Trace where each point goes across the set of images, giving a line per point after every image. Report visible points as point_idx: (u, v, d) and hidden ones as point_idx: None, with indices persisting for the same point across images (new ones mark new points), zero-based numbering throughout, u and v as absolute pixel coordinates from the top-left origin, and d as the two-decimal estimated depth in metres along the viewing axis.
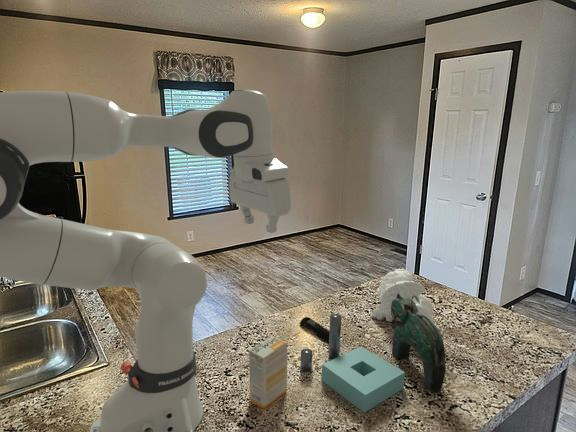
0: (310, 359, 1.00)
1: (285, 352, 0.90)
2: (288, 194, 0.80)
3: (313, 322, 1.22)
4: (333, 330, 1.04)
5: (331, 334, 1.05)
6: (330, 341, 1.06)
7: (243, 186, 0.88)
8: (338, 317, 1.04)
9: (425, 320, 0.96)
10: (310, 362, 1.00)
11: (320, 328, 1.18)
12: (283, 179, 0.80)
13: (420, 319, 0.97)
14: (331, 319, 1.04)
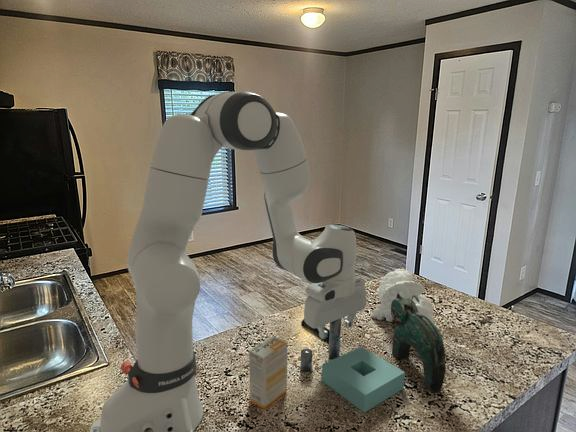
0: (310, 359, 1.00)
1: (285, 352, 0.90)
2: (313, 314, 0.97)
3: None
4: (333, 330, 1.04)
5: (331, 334, 1.05)
6: (330, 341, 1.06)
7: None
8: None
9: (425, 320, 0.96)
10: (310, 362, 1.00)
11: None
12: (318, 301, 0.97)
13: (420, 319, 0.97)
14: None
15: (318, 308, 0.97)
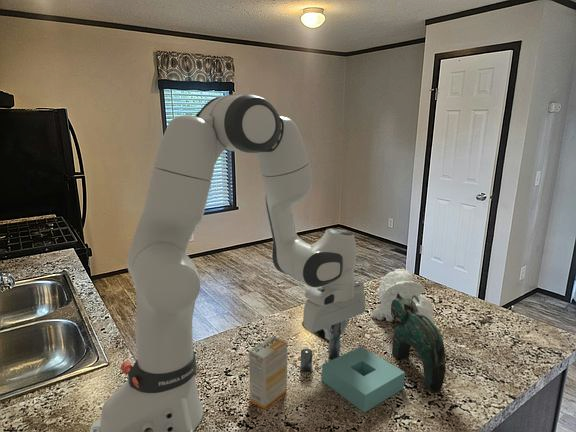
0: (310, 359, 1.00)
1: (285, 352, 0.90)
2: (312, 318, 0.97)
3: None
4: (333, 330, 1.04)
5: None
6: (330, 341, 1.06)
7: None
8: None
9: (425, 320, 0.96)
10: (310, 362, 1.00)
11: None
12: (317, 305, 0.97)
13: (420, 319, 0.97)
14: None
15: (317, 312, 0.97)
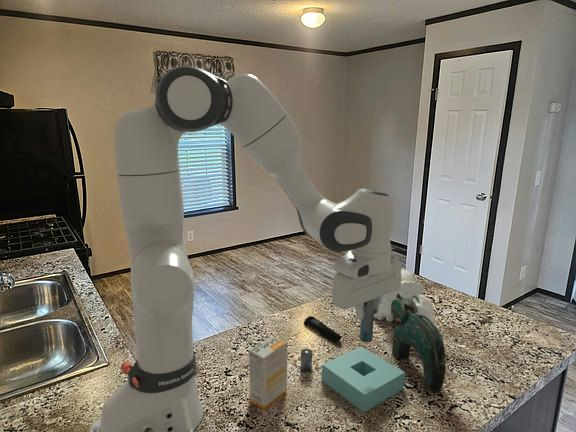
0: (310, 359, 1.00)
1: (285, 352, 0.90)
2: (343, 292, 0.83)
3: (317, 321, 1.22)
4: (366, 308, 0.90)
5: None
6: (362, 321, 0.91)
7: None
8: None
9: (425, 320, 0.96)
10: (310, 362, 1.00)
11: (324, 327, 1.18)
12: (349, 278, 0.83)
13: (420, 319, 0.97)
14: None
15: (350, 286, 0.82)
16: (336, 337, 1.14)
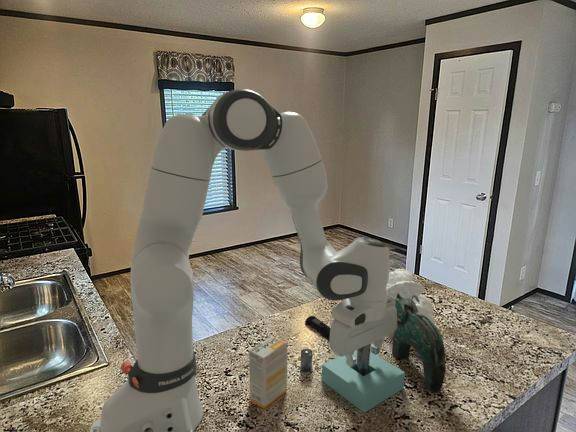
0: (310, 359, 1.00)
1: (285, 352, 0.90)
2: (340, 340, 0.85)
3: (318, 321, 1.22)
4: (362, 357, 0.92)
5: (359, 361, 0.93)
6: (358, 368, 0.94)
7: None
8: None
9: (425, 320, 0.96)
10: (310, 362, 1.00)
11: (324, 327, 1.18)
12: (346, 326, 0.85)
13: (420, 319, 0.97)
14: None
15: (347, 334, 0.85)
16: None
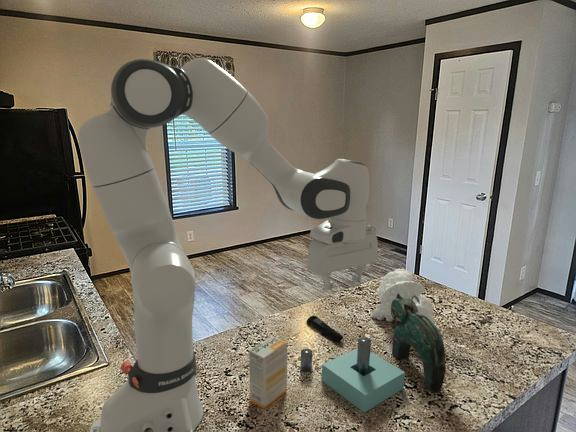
0: (310, 359, 1.00)
1: (285, 352, 0.90)
2: (318, 257, 0.85)
3: (319, 321, 1.23)
4: (362, 357, 0.92)
5: (359, 361, 0.93)
6: (358, 368, 0.94)
7: None
8: (367, 342, 0.92)
9: (425, 320, 0.96)
10: (310, 362, 1.00)
11: (326, 327, 1.18)
12: (324, 244, 0.85)
13: (420, 319, 0.97)
14: (359, 344, 0.92)
15: (324, 251, 0.85)
16: (337, 337, 1.14)
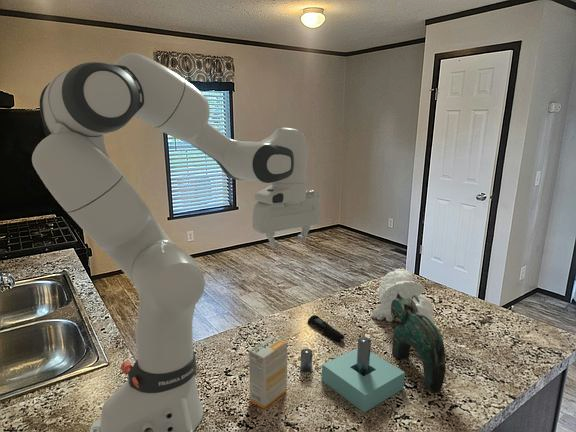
0: (310, 359, 1.00)
1: (285, 352, 0.90)
2: (260, 217, 0.94)
3: (321, 320, 1.23)
4: (362, 357, 0.92)
5: (359, 361, 0.93)
6: (358, 368, 0.94)
7: None
8: (367, 342, 0.92)
9: (425, 320, 0.96)
10: (310, 362, 1.00)
11: (327, 327, 1.19)
12: (265, 204, 0.94)
13: (420, 319, 0.97)
14: (359, 344, 0.92)
15: (265, 211, 0.94)
16: (339, 337, 1.14)
